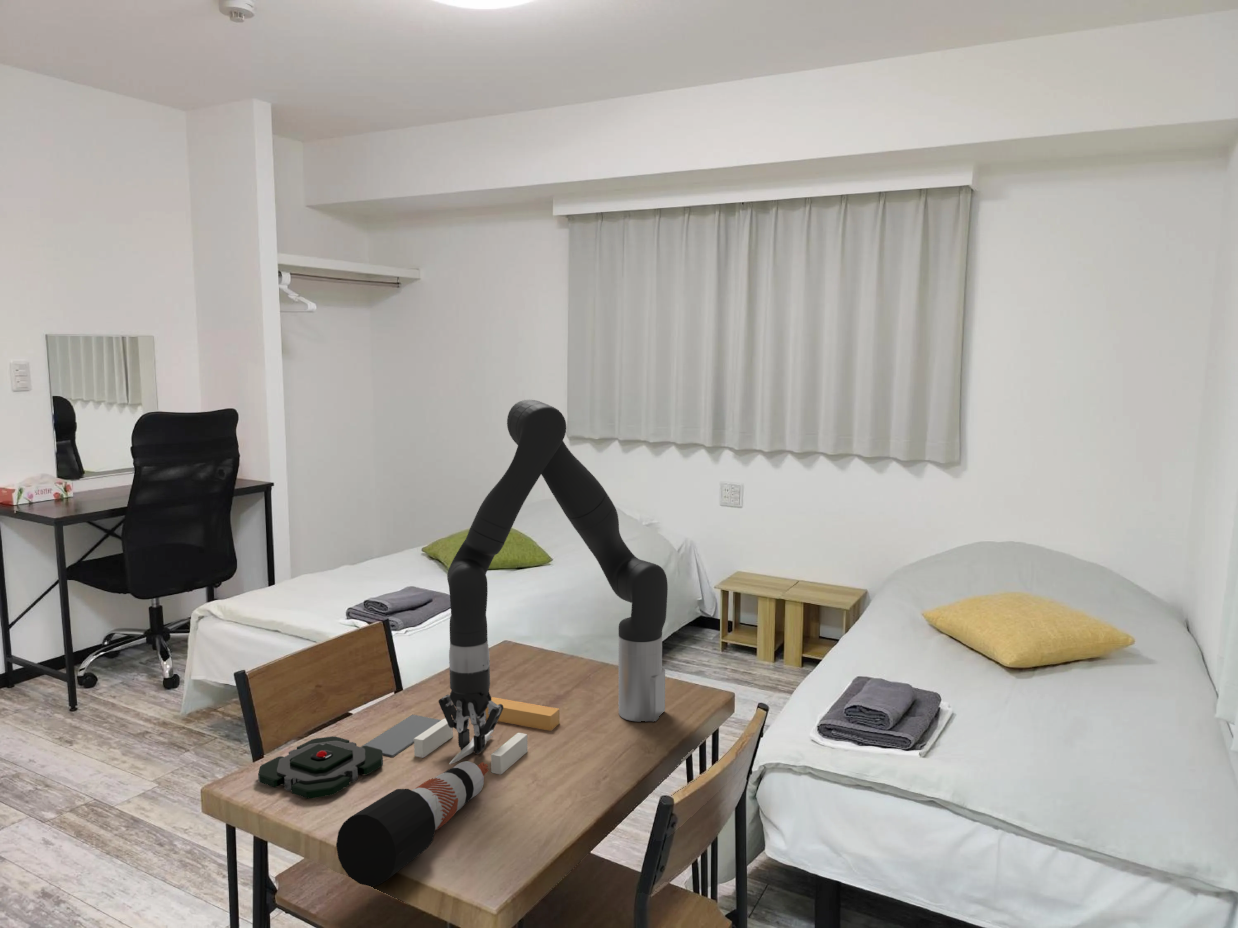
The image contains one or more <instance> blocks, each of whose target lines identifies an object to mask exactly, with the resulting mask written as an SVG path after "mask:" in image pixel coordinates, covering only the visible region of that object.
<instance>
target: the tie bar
mask: <svg viewBox="0 0 1238 928" xmlns="http://www.w3.org/2000/svg"><path fill="white" fill-rule="evenodd" d="M491 699H492V700H491V701H493V702H494V703H495V704H497V705H499V704H502V705H503V710H502V713H501V715H500V717H499V719H498V721H497V722H499V723H507V724H512V725H516V726H522V727H526V728H527V727H528V728H531V729H532V728H533V729H539V730H544V731H550V732H551V731H552V730H554V729H555V728H556V727H557V726H558V725H559V724H560V718H561V717H560V708H558V707H557V708H556V707H552V706H546V705H545V706H544V705H539V704H534V703H529V702H522V701H517V700H510V699H506V698H500V697H494V696H491ZM488 710H489V708H488V707H487V709H486V710H485V711H486V719H485V720H487V719H488V717H489V714H488Z"/></svg>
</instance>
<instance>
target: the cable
mask: <svg viewBox="0 0 1238 928" xmlns="http://www.w3.org/2000/svg"><path fill="white" fill-rule="evenodd" d="M488 772H489V765H488V764H487V763H485V762H483V761H482V762H480V763H479V764H476V763H475V762H472V761H466V760H465V761H462V762H459V763H457V764H456V765H454V766H453V767H451V768H449V769H447V770H446V771H444V772H442V773H440V774H439V775H437V776H435V777H434V778H433V777H432V778H431V779H430V778H429V779H427V780H426V781H424V782H423V783H421V784H420V785H418V786H417V787H415V788H413V789H409V788H397V789H395V790H392V791H391V792H389V793H387V794H386V795H384V796H383V797H380V798H378V799H377V800H376V801H374V802H372V803H371V804H369V805H367V806H366V807H364V808H363V809H361V810H360V811H358V812H356V813H355V814H352V815H350V816H349V817H348V818H347V819H346V820H345V821H344V822H343V823H342V825H341V826H340V828H339V829H338V832H337V838H336V842H335V843H336V844H335V848H336V853H337V858H338V861H339V864H340V865H341V867H342V870H344V872H345V874H347V876H348V877H349V878H351V879H352V880H354V881H355V882H356V883H358V884H359V885H363V886H369V887H375V886H378V885H379V886H380V885H381V884H383V883H384V882H386V881H388V880H389V879H390V878H391V877H393V876H394V875H395V874H397V873H398V872H399V871H400V870H402V869H403V868H404V867H406V866H407V865H408V864H409V863H411V862H412V861H414V859H415V858H418V856H420V855H421V854H422V853H423V852H424V851H425V850H427V849H428V848H429V847H430V845H431V844H432V842H433V841H434V836H435V833H436V831H437V830H439V829H440V828H442V827H443V826H444V825H445V824H446V823H448V822H449V821H450V820H451V819H452V818H453V816H455V814H456V813H457V812H458V811H460V810H461V809H462V808H463V806H465V805H467V803H469V802H470V801H471V800H472V799H473V798H475V796H477V795H479V794H480V792H481V791H482V790H483V787H484V785H485V784H484V782H485V781H484V776H485V775H486V774H487V773H488Z"/></svg>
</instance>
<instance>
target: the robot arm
mask: <svg viewBox="0 0 1238 928" xmlns="http://www.w3.org/2000/svg"><path fill="white" fill-rule="evenodd" d="M506 425H507V426H506V428H507V430H508V434H509V436H510V438H511V440H513V442H514V443H515V444H516V445H517V446H516V447H517V448H516V451H515V452H514V456H513V457H512V458H513V459H512V460H511V463H510V465H509V466H508V468H507V470H505V473H504V474H503V475H502V477H501V478H500V479H499V481H498V482H497V483H496V484H495V485H494V486H493V488H492V489H491V490H490V491H489V492H488V494H487V495H486V496H485V498H484V499H483V501H482V503H481V505H480V506H479V508H478V510H477V512H476V515H475V516H474V519H473V522H472V523H471V526H470V527H469V530H468V532H467V535H466V537H465V540H464V541H463V542H462V544H461V546H460V547H459V549H458V551H457V552H456V554H455V556H454V557H453V559H452V561H451V562H450V566H449V567H448V570H447V571H448V572H447V575H446V578H447V583H448V589H449V590H448V591H449V592H448V593H449V602H450V605H449V606H450V618H449V650H448V660H449V662H448V664H449V667H448V668H449V669H448V670H449V688H450V690H451V691H450V693H449V694H446V695H444V696H443V697H441V698H440V699H439V700H438V705H439V707H440V709H441V711H442V714H443V716H444V718H445V719H446V721H447V723H448V725H449V727H450V728H453V729H455V730H456V732H457V735H458V736H457V739H458V742H457V743H458V747H459V748H460V749H459V750H460V751H461V750H462V749H463V748H464V747H466V746H467V745H468V744H469V743H470V742H471V739H470V733H471V732H470V728H469V726H470V724H471V725H472V726H473V733H474V735H473V737H474V752H473V753H474V754H476V755H479V754H481V753H482V752H483V751H484V749H486V744H485V735H487V734H488V733H489V732H490V731H492V730H493V729H494V730H495V727H496V725H497V723H498V722H499V721H498V719H499V717H500V715H501V713H502V710H503V705H502V704H499V705H497V704H495V703H494V702H493V701H491V700H492V699H491V697H492V696H491V694H490V686H491V670H490V669H491V668H490V666H491V665H490V661H491V660H490V649H489V643H488V642H489V641H488V639H489V638H488V620H487V619H488V618H487V608H488V589H489V587H488V577H487V572H488V570H489V567H490V566H491V563H492V562H493V560H494V557H495V556H496V555H497V554H499V553H500V552H501V551H502V548H504V545H505V543H506V541H507V538H508V537H509V534H510V532H511V531H512V528H513V525H514V524H515V521H516V519H517V517H518V515H519V513H520V510H521V509H522V507H523V506H524V503H525V501H526V500H527V498H528V496H529V495H530V493H531V491H532V489H533V488H534V486H535V485H536V483H537V482H538V479H539V478H540V477H541V476H542V478H543V480H544V481H545V483H546V485H547V487H548V488H549V490H550V493H552V495H553V497H554V499H555V500H556V502H557V503H558V505H559V507H560V508H561V510H562V512H563V513H564V515H565V516H566V518H567V519H568V521H569V523H570V524H571V525H572V526H573V528H574V529H575V532H576V533H577V534H578V535H579V536H580V538H581V539H582V541H583V542H584V543H585V545H586V546H587V548H588V549H589V550H590V552H591V553H592V554H593V556H594V558H595V559H596V561H597V563H598V565H599V567H600V568H601V570H602V572H603V575H604V576H605V578H606V581H607V582H608V584H609V586H610V588H611V590H612V591H613V592H614V594H615V595H616V596H617V597H618V598H619V599H621V600H623V601H625V602H628V603H631V611H630V616H629V617H625V618H623V619H621V621H619V624H618V704H617V706H618V715H619V717H621V718H622V719H623V720H627V721H630V722H631V721H632V722H636V723H637V722H639V723H640V722H641V721H645V722H654V721H655V722H657V720H658V719H659V718H660V717H661V716H662V715H663V714H664V713H665V712H664V711H666V668H664V667H663V629H664V626H665V623H666V620H667V607H668V605H667V603H668V587H669V585H668V578H667V577H668V576H667V573H666V572H665V570H664V568H662V567H661V566H660V565H658V564H656V563H654V562H650V561H646V560H643V559H640V558H638V557H637V556H635V555H634V553H632V551H631V550H630V548H629V547H628V545H627V544H626V543H625V542H624V539H623V538H622V536H621V532H620V522H619V521H620V520H619V514H618V510H617V508H616V506H615V505H614V503H613V501H612V499H611V497H610V496H609V494H608V493H607V491H606V490H605V489H604V487H603V485H602V484H601V483H600V481H599V480H598V479H597V478H596V477H595V476H594V475H593V474H592V473H591V472H590V471H589V470H588V468H587V467H586V466H585V465H584V464H583V463H582V462H581V461H580V460H579V459H578V458H577V457H576V456H575V455H574V454H573V453H572V452H571V450H570V449H569V448H568V446H567V445H566V443H565V441H564V439H565V436H566V433H567V422H566V419H565V416H564V415H563V413H562V412H561V411H560V410H559V409H558V408H556V407H554V406H553V405H549V404H547V403H545V402H542V401H539V400H535V399H524V400H519V401H518V402H516V403H515V404H513V405H512V407H511V408H510V410H509V412H508V414H507V418H506ZM487 707H488V708H489V710H488V714H489V717H488V719H486V711H485V710H486V709H487ZM663 712H664V713H663ZM662 713H663V714H662ZM661 714H662V715H661ZM660 715H661V716H660ZM659 716H660V717H659ZM641 723H642V722H641Z"/></svg>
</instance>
